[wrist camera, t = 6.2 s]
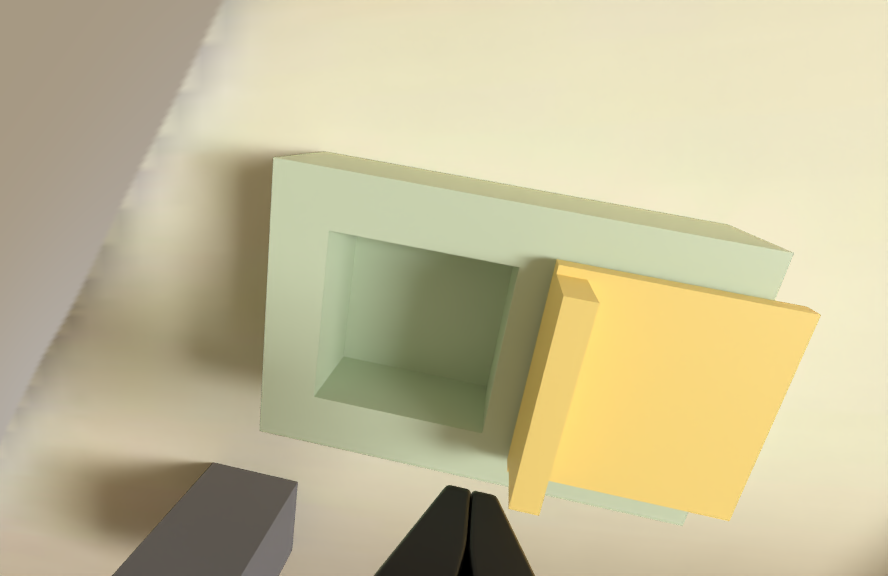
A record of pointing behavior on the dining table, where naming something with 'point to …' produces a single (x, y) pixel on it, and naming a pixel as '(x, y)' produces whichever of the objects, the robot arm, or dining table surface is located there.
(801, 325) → the panel
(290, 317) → the socket block
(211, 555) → the plug
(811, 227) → the dining table surface
